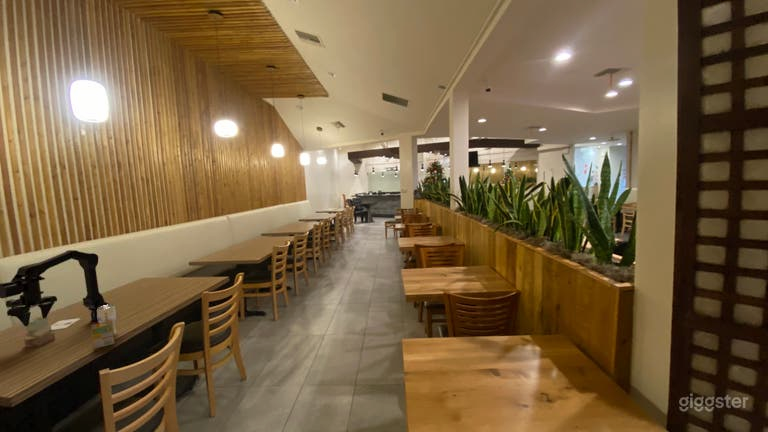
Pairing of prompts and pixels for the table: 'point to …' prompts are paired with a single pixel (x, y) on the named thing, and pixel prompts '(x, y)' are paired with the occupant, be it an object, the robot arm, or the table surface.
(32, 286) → the robot arm
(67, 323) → the page
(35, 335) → the maple brick
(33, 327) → the sage brick
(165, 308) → the table surface
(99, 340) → the crayon box
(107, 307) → the beer glass
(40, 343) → the walnut base brick
